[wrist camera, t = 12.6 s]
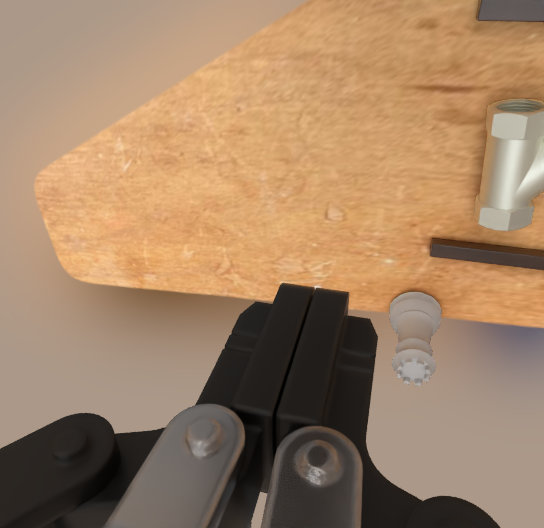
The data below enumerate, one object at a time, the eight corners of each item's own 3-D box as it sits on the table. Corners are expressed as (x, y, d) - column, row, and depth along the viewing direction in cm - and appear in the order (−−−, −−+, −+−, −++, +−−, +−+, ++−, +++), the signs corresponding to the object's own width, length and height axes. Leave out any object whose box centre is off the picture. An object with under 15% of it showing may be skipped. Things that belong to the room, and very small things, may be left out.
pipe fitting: (598, 92, 31) (485, 99, 32) (624, 110, 27) (497, 116, 29) (570, 205, 35) (471, 207, 36) (590, 232, 32) (480, 232, 33)
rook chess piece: (419, 335, 44) (418, 402, 38) (379, 310, 44) (371, 374, 38) (452, 306, 42) (457, 373, 35) (410, 279, 41) (408, 342, 35)
